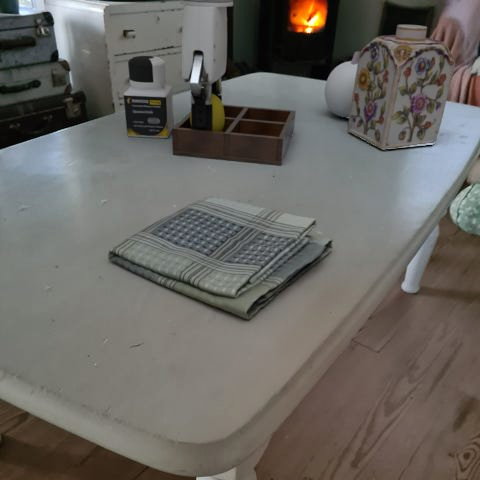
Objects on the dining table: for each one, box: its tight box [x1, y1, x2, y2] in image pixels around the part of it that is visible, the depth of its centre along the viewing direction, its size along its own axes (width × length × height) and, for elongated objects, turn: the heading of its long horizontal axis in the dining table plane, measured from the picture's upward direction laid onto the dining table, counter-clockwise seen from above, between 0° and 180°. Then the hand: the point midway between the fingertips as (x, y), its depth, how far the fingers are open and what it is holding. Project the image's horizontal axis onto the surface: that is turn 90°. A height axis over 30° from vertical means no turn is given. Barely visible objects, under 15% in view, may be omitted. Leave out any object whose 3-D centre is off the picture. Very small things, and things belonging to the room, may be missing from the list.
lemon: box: [189, 91, 225, 132], centre depth 82 cm, size 6×6×8 cm
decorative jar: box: [347, 24, 456, 149], centre depth 88 cm, size 12×12×18 cm
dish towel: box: [107, 195, 334, 320], centre depth 55 cm, size 19×18×3 cm
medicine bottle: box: [123, 55, 175, 139], centre depth 88 cm, size 7×7×12 cm
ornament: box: [324, 51, 361, 118], centre depth 101 cm, size 10×10×12 cm
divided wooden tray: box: [171, 104, 296, 166], centre depth 87 cm, size 17×17×4 cm
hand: (207, 124), depth 83 cm, fingers closed on lemon, 5 cm apart
